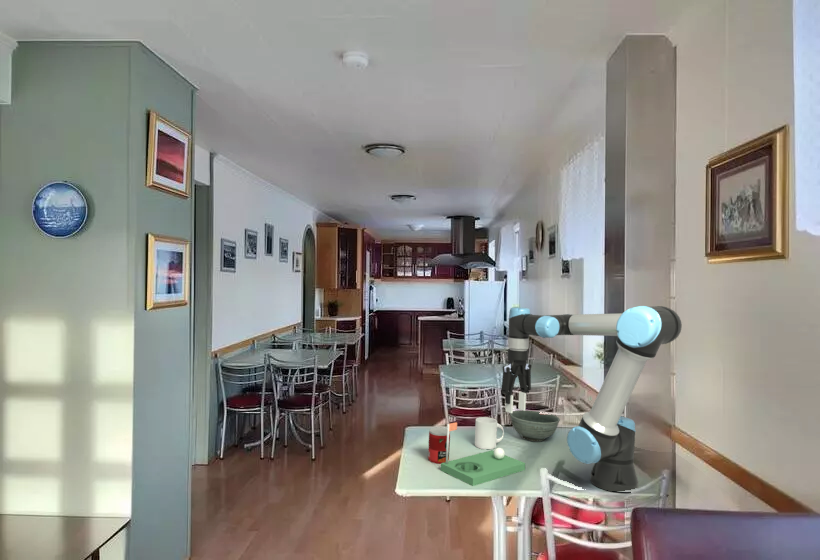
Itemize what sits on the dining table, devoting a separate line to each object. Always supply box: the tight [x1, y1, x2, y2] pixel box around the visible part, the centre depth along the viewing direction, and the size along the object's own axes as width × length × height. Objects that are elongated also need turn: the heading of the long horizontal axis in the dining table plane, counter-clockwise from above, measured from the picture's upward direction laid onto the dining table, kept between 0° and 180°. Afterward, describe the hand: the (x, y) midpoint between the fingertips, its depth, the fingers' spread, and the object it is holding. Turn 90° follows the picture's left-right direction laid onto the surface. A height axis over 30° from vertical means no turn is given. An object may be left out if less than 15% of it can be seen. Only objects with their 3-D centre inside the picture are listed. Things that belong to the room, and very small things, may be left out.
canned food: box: [427, 427, 451, 465], centre depth 196 cm, size 8×8×11 cm
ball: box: [493, 447, 506, 459], centre depth 193 cm, size 4×4×4 cm
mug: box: [474, 416, 505, 450], centre depth 214 cm, size 9×12×11 cm
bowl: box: [509, 409, 561, 442], centre depth 227 cm, size 21×21×10 cm
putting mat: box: [440, 422, 526, 487], centre depth 188 cm, size 16×26×16 cm, turn 128°
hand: (515, 410), depth 198 cm, fingers open, 6 cm apart
